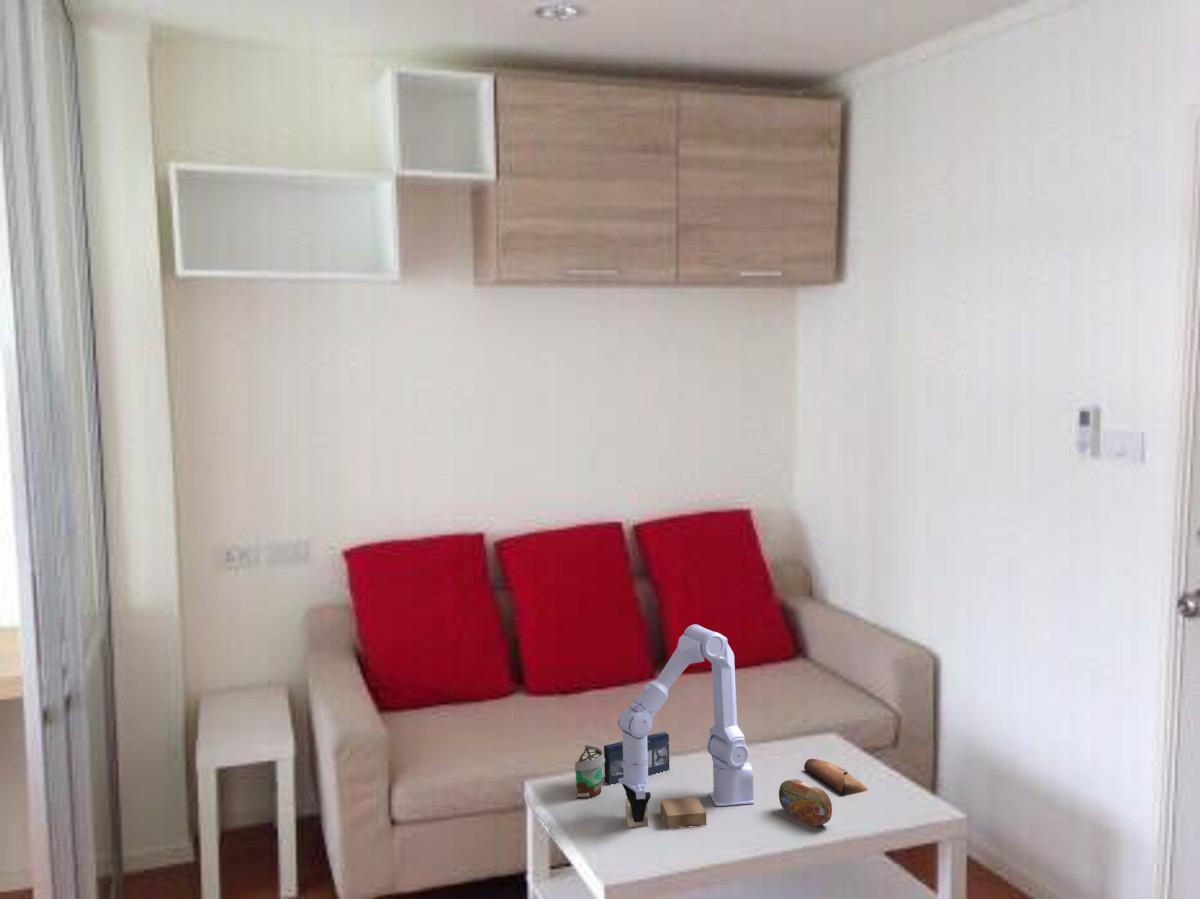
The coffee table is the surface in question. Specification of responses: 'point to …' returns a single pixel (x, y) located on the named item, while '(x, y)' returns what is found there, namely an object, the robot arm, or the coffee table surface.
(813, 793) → the tin
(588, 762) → the food container
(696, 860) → the coffee table surface
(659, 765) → the vhs cassette tape
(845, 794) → the sunglasses case
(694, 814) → the tan flat block
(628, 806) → the maple cube
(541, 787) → the coffee table surface
